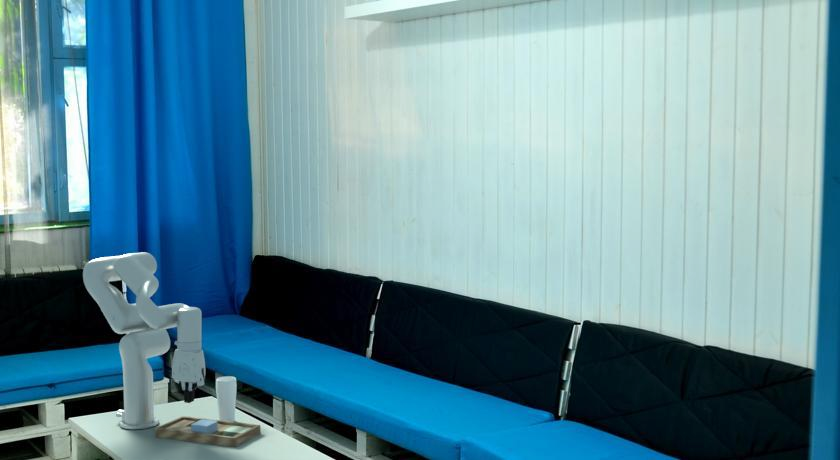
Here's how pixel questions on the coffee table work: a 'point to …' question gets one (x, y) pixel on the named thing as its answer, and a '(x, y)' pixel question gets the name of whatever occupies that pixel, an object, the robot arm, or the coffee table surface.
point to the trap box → (224, 436)
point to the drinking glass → (226, 397)
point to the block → (205, 426)
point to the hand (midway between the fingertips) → (189, 401)
